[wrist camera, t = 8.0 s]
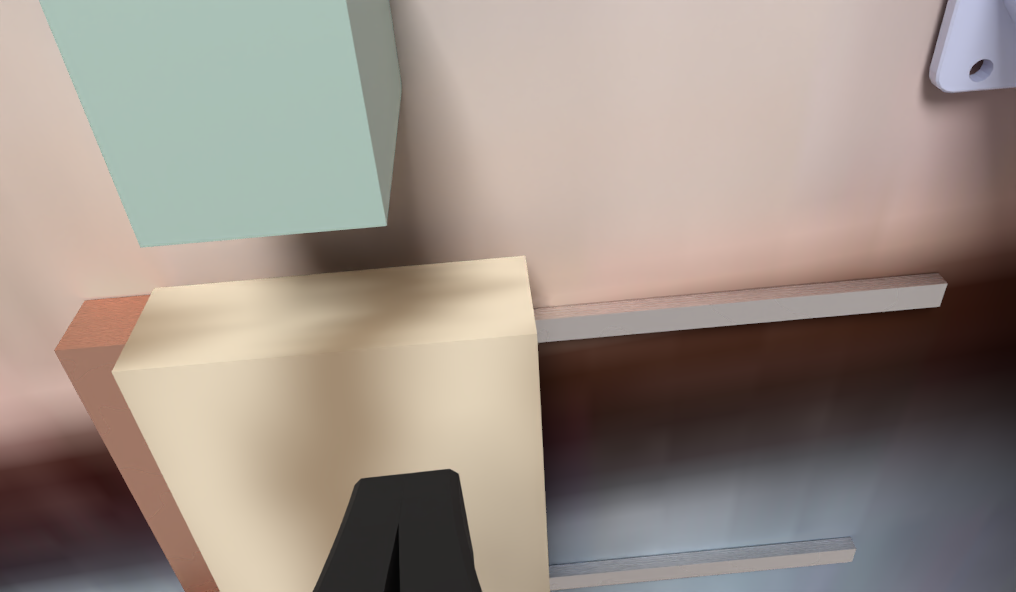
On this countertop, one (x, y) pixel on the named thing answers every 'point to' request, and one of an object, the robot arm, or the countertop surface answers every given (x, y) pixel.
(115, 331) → the track
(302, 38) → the block
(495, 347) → the cream rectangular box
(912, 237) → the countertop surface
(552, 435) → the countertop surface
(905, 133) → the countertop surface
